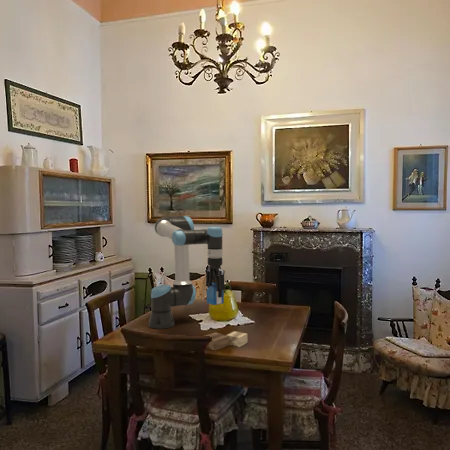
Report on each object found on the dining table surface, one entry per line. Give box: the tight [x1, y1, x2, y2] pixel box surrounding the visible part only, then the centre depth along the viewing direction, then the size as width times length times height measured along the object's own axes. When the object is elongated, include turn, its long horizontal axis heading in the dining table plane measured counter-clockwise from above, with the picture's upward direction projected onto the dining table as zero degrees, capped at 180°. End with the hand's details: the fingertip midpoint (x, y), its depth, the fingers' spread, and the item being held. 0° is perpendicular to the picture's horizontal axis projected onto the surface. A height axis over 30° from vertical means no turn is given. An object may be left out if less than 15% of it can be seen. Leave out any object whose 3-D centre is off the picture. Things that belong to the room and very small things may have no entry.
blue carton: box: [206, 278, 225, 306], centre depth 219 cm, size 6×6×12 cm
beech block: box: [225, 331, 248, 348], centre depth 224 cm, size 8×8×5 cm
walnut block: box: [204, 331, 230, 351], centre depth 221 cm, size 10×10×5 cm
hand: (215, 302), depth 220 cm, fingers closed on blue carton, 6 cm apart
